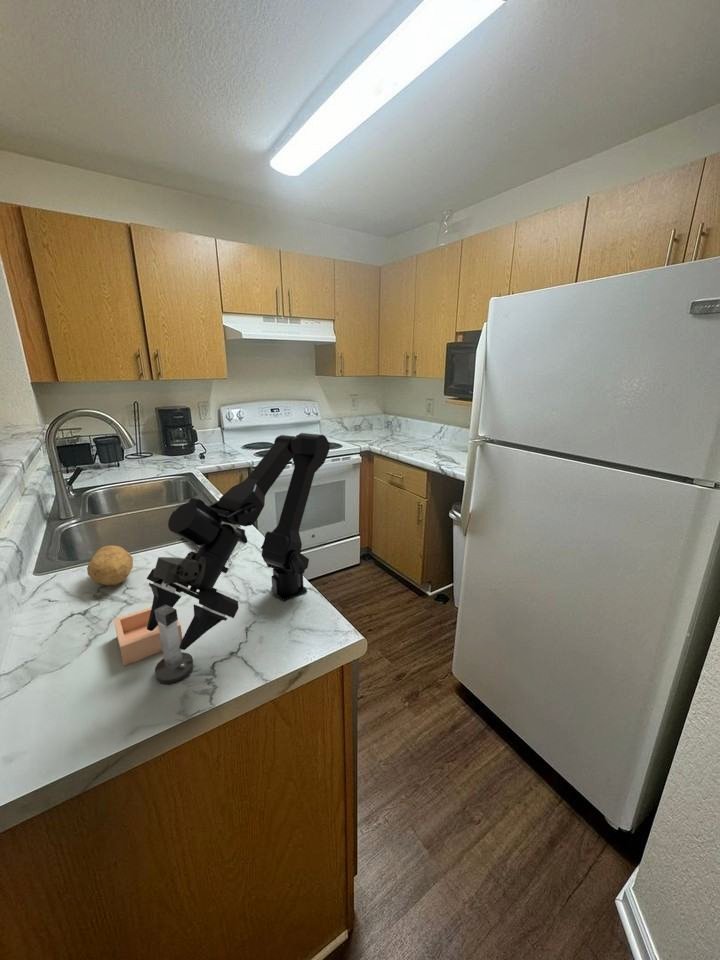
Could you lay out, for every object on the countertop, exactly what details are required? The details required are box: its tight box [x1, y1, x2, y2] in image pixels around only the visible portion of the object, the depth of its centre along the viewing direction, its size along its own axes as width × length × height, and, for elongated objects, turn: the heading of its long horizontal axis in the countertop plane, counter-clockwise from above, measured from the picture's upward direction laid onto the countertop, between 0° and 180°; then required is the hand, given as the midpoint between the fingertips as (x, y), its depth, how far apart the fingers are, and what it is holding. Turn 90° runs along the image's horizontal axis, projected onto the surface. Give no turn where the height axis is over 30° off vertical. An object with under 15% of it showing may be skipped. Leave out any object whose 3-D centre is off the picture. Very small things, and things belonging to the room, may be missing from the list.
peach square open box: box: [113, 606, 183, 667], centre depth 75 cm, size 10×10×4 cm
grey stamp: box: [154, 604, 195, 686], centre depth 66 cm, size 6×6×12 cm
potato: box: [86, 545, 134, 586], centre depth 96 cm, size 10×14×8 cm
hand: (164, 639), depth 65 cm, fingers open, 9 cm apart
